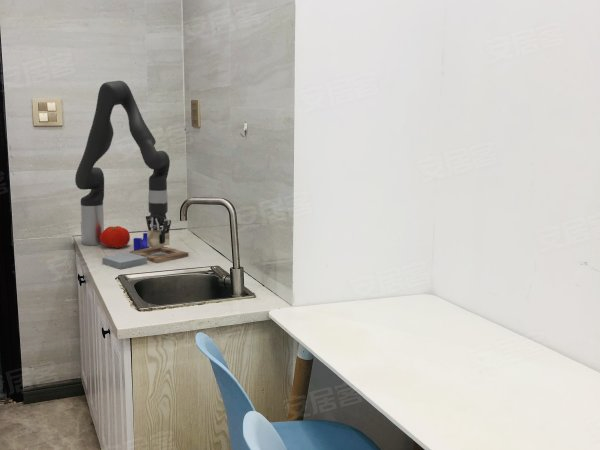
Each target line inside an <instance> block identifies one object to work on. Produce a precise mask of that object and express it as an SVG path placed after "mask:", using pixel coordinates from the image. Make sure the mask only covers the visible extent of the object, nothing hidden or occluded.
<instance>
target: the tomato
mask: <svg viewBox="0 0 600 450" xmlns="http://www.w3.org/2000/svg"><path fill="white" fill-rule="evenodd" d="M130 239H131V234H130V232H129V231H128V229H126V228H124V227H122V226H120V225H119V226H118V225H116V226H107V227H106V228H104V231H103V232H102V233H101V236H100V241H101V242H102V243H103V245H104V246H106V247H108V248H113V247H114V248H115V249H121V248H122V247H125V246H127V245H128V244H129V242H130Z"/></svg>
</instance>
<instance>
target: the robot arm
mask: <svg viewBox="0 0 600 450" xmlns="http://www.w3.org/2000/svg"><path fill="white" fill-rule="evenodd" d="M96 101H97V102H96V106H95V112H94V116H93V120H92V122H91V123H92V124H91V127H90V129H89V134H88V138H87V141H86V145H85V149H84V151H83V155H82V157H81V160H80V162H79V164H78V167H77V169H76V173H75V179H74V180H75V181H74V183H75V185H76V187H77V188H78V189H79V190H84V191H85V190H86V191H87V190H90V191H89V193H88V194H87V195H85V196H83V197H81V199H80V213H81V214H80V216H81V217H80V219H81V221H80V233H81V237H80V238H81V244H82V245H84V246H85V245H86V246H97V245H98V246H99V244H100V245H102V244H103V243H102V242H101V241H100V236H101V233H102V232H103V231H104V230H105V222H104V221H105V220H104V219H105V218H104V217H105V216H104V198H105V175H104V171H103V170H102V169H101V168H100V167H95V165H96V163H97V162H98V161H99V160H100V159H101V158H102V157H103V156H104V155H105V154H106V153H107V152H108V151H109V150H110V147H111V146H112V145H111V144H112V141H113V138H114V134H115V133H114V128H113V124H112V122H111V115H112V113H113V109H114V108H115V106H118V105H121V107H123V109H124V111H125V112H126V115H127V118H128V129H129V132H130V134H131V137H132V139H133V140H134V141H135V143H136V145H137V146H138V148H139V151H140V154H141V156H142V159H143V162H144V164H145V165H146V167H148V168H149V169H151V170H153V171H152V174H151V175H150V176H149V178H148V203H147V204H148V213H150V215H146V216H145V220H146V227H147V230H148V231H154V230H159V234H160V235H159V243H160V244H163V243H165V234H167V233H169V234H170V229H171V225H172V220H171V219H167V213H168V212H169V209H168V206H169V204H168V202H169V201H168V200H169V199H168V181H167V178H168V175H169V172H170V171H169V170H170V164H171V160H170V159H171V158H170V156H169V155H168V153H167V152H166V151H165V150H157V149H156V148H155V145H156V142H157V141H156V139H155V137H154V135H153V134H152V132H151V130H150V129H149V127H148V126H147V124H146V122H145V120H144V118H143V117H142V113H141V112H140V109H139V107H138V104H137V102H136V100H135V97H134V95H133V92H132V91H131V89H130V87H129V85H128V83H126V82H125V81H123V80H114V81H113V80H112V81H106V82H103V83H102V84H101V85H100V87H99V90H98V93H97V100H96ZM162 229H163V231H162ZM103 245H104V244H103Z"/></svg>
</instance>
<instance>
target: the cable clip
mask: <svg viewBox="0 0 600 450" xmlns="http://www.w3.org/2000/svg"><path fill="white" fill-rule="evenodd" d="M146 248H150V247H149V246H147V232H143V233H142V237H134V238H133V251H135V250H140V249H146Z"/></svg>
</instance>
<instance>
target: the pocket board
mask: <svg viewBox="0 0 600 450" xmlns="http://www.w3.org/2000/svg"><path fill="white" fill-rule="evenodd" d="M129 252H130V253H133V254H137V255H140V256H144V257H147V262H151V263H155V264H159V263H164V262H167V261H168V262H169V261H173V260H178V259H183V258H186V257H189V252H187V251H183V250H180V249H176V248H171V247H167V246H161V247H156V248H152V247H149V248H146V249H140V250H135V251H134V250H130V251H129ZM155 253H164V254H163V255H152V254H155Z"/></svg>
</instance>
